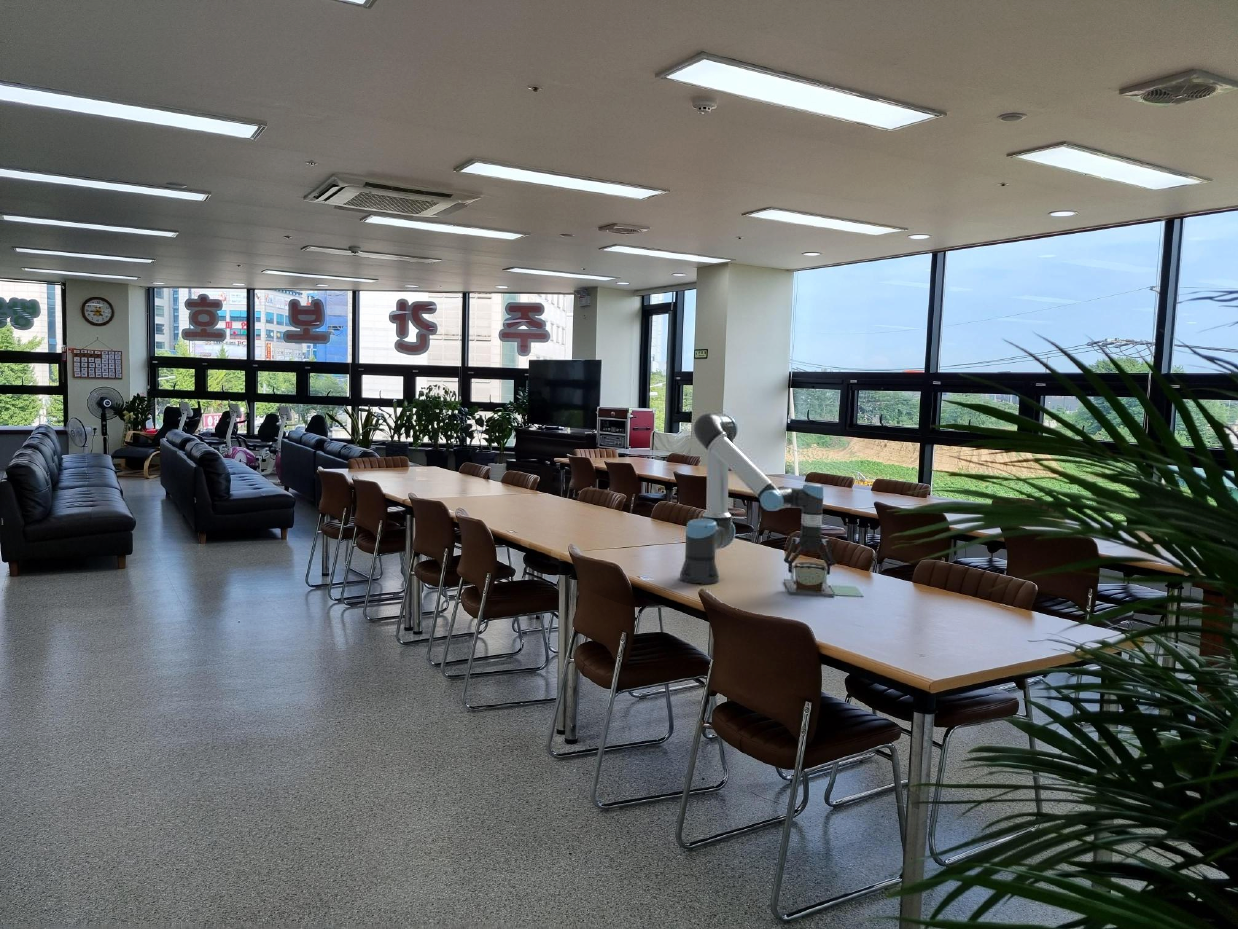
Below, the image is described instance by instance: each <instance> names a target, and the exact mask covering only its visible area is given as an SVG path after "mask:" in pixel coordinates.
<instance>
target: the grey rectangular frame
mask: <svg viewBox="0 0 1238 929" xmlns="http://www.w3.org/2000/svg"><path fill="white" fill-rule="evenodd" d="M783 584H784V586H785V588H786V590H787V592H788V594H789V596H803V597H819V596H824V597H825V598H835V594H834V592H833V591H832V589H831V588H830V587H829V584H828V583H827V582H826V584H824V583H823V587H822V591H807V590H797V589H796V580H795V579H794V580H793V582H791V578H783Z"/></svg>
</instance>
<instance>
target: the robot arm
mask: <svg viewBox="0 0 1238 929" xmlns="http://www.w3.org/2000/svg"><path fill="white" fill-rule="evenodd" d="M738 430H739V429H738V425H737V421H736V420H735V419H734V418H733V417H732V416H730V415H729V414H725V413H721V412H719V413H704V414H702V415H700V416H699V417H697V418H696V420H695V422H694V425H693V433H694V436H695V438H696V439H697V441H698V442H699V443H700V444H701V446H702V447H703V448H704V449H705V451H706V453H707V454H706V456H707V457H706V503H705V504H706V509H705V511H704V513H703V514H702V517H701V518H695V519H690V520H689V521H687V523H686V528H685V550H684V554H685V556H684V562H683V564H682V567H681V570H680V572H679V580H680V581H682V580H683V581H682V582H684V581H687V582H686V583H688V582H691V583H690V584H695V583H701V584H700V585H711V584H712V585H713V584H717V583H719V582H720V581H719V579H720V574H719V571H718V568H717V564H716V551H717V550H721V549H724V548H727V546H729V545H731V544H732V543H733V541H734V539H735V537H736V526H735V524H733V522H732V514H730V512H729V470H730V471H731V472H732V473H733V474H734V475H735V476H736V477H737V478H738V479H739V480H740V481H741V482H742V483H743V484H744V485H745V486H746V487H747V488H748V489H749V490H750V492H752V493H753V494H754V495H755V496H756V497H757V498H758V499H759V502H760V505H761V507H762V508H763V509H764V510H766V511H767V512H768V511H771V512H773V511H774V512H776V511H779V510H781V509H786V508H795V509H796V508H797V509H801V520H800V521H801V525H800V526H801V527H800V536H799V538H798V537H793V536H792V538H791V543H790V545H789V548H788V549H787V552H786V554H785V556H784V557H783V558H784V559H783V562H784V563H786V564H788V566H787V567H788V568H787V571H788V573H789V574H790V579H791V582H793V580H794V578H795V568H794V569H793V567H794V565H795V561H796V560H797V559H798V557H799V556H800V555H801V554H802V553H803V552H804V550H806V551H809V550H811V551H816V550H817V552H818V553H819V556H820V557H821V559H822V560H823V562H824V565H825V564H826V565H825V566H826V569H827V572H826V571H825V574H824V581H823V583H824V584H826V583H827V579H828V576H830V575H831V567H832V566H835V565H836V561H835V559H834V558H835V557H834V555H833V553H832V550H831V547H830V545H831V544H830V540H829V538H826V539H822V529H823V528H822V524H823V523H822V522H823V508H824V507H823V506H824V497H825V495H824V487H823V485H822V484H817V483H805V484H803V485H802V488H799V487H788V486H776V485H775V484H774V483H773V482H772V481H771V480H770V479H769V478H768V477H767V476H766V475H765V474H764V473H763V472H762V471H761V470H760V469H759V468H758V467H757V466H756V465H755V464H754V463H753V462H752V461H751V460H750V459H749V458H748V457H747V456H746V455H745V454H744V453H743V452H742V451H741V450H739V449H740V448H738V447H737V446H736V445H735V444H734V439H735V438H736V437H737V435H738ZM798 543H800V544H801V545H800V546H799V547H798V549H797V550H796V551H795V553H794V554H793V555H792V553H793V550H794V549H795V547H796V545H797V544H798ZM822 543H823V545H824V546H825V549H826V552H827V554H828V558H829V560H828V559H827V557H826V555H825V554H824V552H823V551H822V550H821V548H820V546H821V544H822ZM791 555H792V556H791ZM790 557H791V558H790Z"/></svg>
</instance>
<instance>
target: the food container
mask: <svg viewBox="0 0 1238 929" xmlns="http://www.w3.org/2000/svg"><path fill="white" fill-rule="evenodd" d="M793 569H794V578H795V580H796V584H795V587H796V589H797V590H807V591H822V587H823V581H824V574H825V571H826V572H827V569H826V566H825V563H824V564H823V563H820V562H811V561H797V562H794V567H793Z"/></svg>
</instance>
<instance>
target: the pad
mask: <svg viewBox="0 0 1238 929" xmlns="http://www.w3.org/2000/svg"><path fill="white" fill-rule="evenodd" d="M828 586H830V588H831V590H832V591H833V593H834V596H836V595H838V596H839V597H852V596H864V595H863V593H862V592H861V590H859V588H857V586H855V585H840V584H839V585H838V584H837V585H836V584H828Z"/></svg>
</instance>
